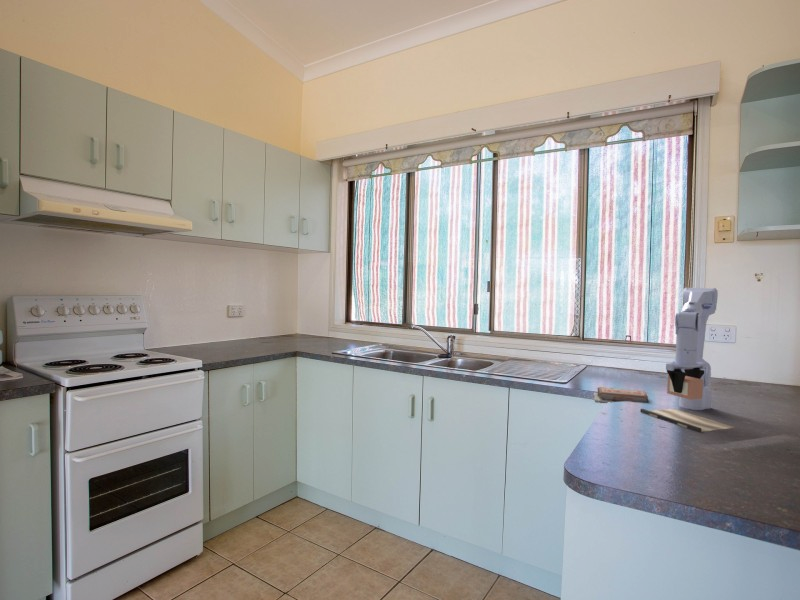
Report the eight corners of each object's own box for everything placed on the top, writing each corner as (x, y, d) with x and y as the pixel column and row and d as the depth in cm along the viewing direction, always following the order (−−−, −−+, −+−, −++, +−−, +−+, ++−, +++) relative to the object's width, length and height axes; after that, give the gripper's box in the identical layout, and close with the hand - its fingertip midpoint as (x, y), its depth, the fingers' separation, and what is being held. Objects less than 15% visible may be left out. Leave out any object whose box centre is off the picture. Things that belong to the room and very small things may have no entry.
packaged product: (645, 389, 164) (650, 395, 155) (645, 402, 164) (649, 409, 155) (593, 384, 171) (594, 390, 162) (593, 396, 171) (594, 403, 162)
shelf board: (673, 412, 149) (674, 405, 149) (734, 432, 131) (735, 424, 130) (639, 416, 145) (639, 408, 144) (697, 437, 126) (698, 428, 126)
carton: (678, 392, 144) (679, 374, 144) (702, 398, 137) (703, 379, 136) (666, 393, 142) (667, 375, 142) (689, 399, 135) (690, 380, 135)
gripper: (691, 347, 145) (689, 387, 145) (658, 348, 140) (656, 390, 141) (712, 350, 138) (710, 392, 139) (678, 351, 134) (676, 395, 134)
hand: (684, 391), depth 139 cm, fingers closed on carton, 5 cm apart
